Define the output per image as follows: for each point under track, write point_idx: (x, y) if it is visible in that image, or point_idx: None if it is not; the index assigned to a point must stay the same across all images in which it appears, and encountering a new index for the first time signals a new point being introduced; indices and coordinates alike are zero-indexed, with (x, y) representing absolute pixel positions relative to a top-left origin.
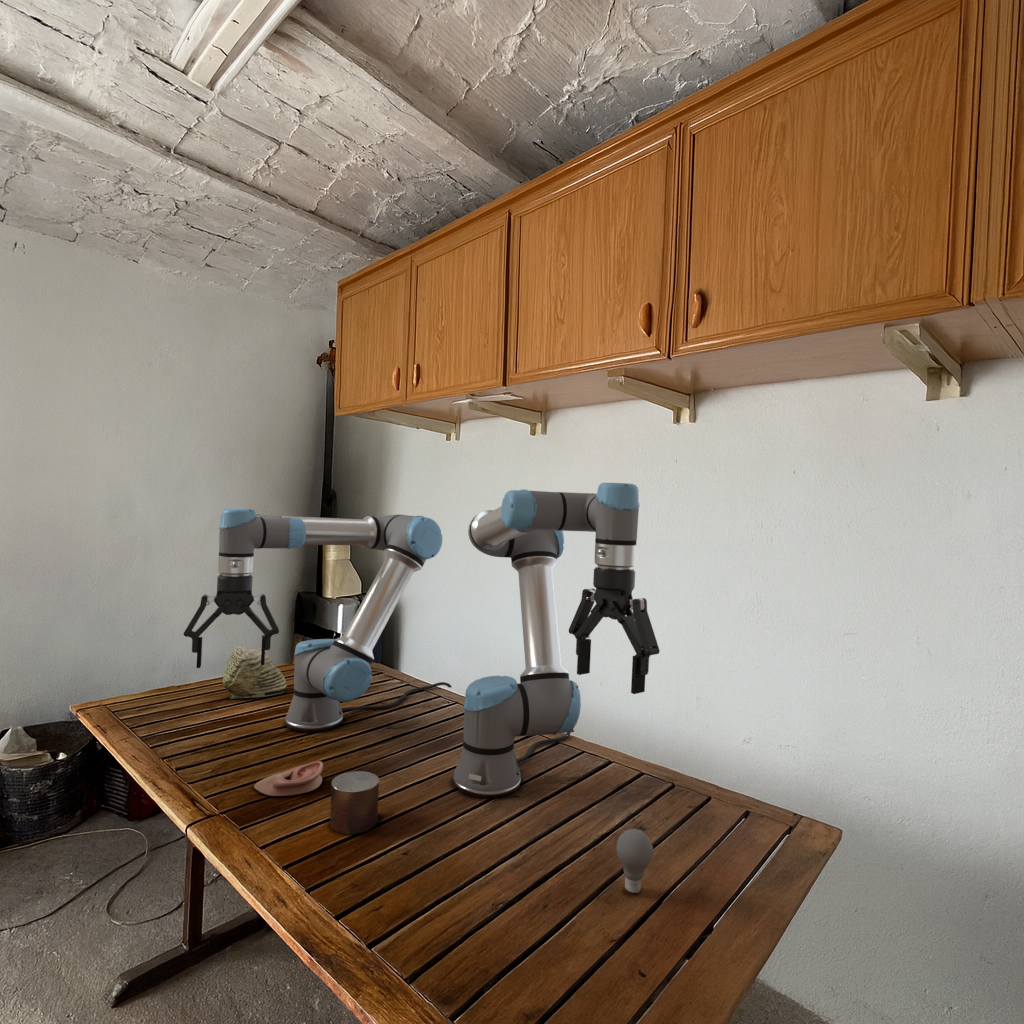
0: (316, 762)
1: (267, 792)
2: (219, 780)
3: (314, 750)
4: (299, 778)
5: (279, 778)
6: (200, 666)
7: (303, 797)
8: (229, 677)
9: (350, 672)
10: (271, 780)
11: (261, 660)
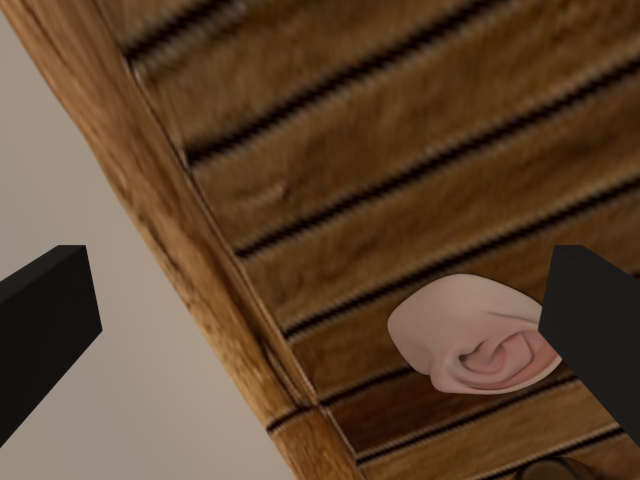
0: None
1: (414, 366)
2: (307, 258)
3: (580, 119)
4: (492, 359)
5: (447, 372)
6: (95, 306)
7: None
8: None
9: None
10: (428, 353)
11: (560, 354)
